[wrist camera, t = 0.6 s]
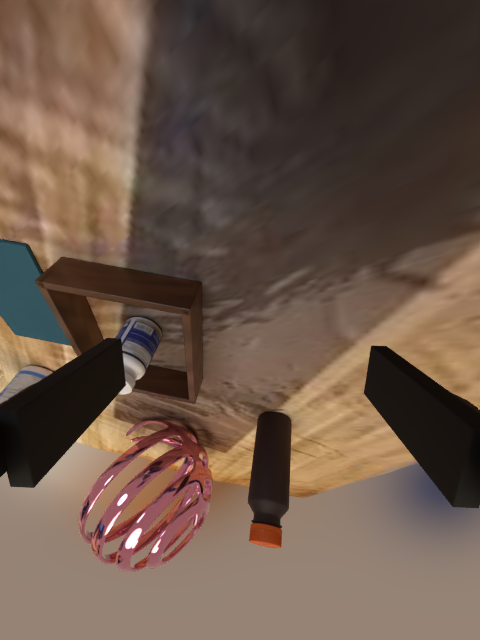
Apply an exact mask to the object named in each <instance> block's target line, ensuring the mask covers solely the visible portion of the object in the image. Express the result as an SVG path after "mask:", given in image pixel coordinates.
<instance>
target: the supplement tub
mask: <svg viewBox="0 0 480 640" xmlns="http://www.w3.org/2000/svg"><path fill="white" fill-rule="evenodd" d="M51 373H53V372H52V371H50V370H48V369H45V368H42V367H38V366H26V367H24V368H22V369H21V370H20V371H19V373H18V374H17V375H16V376H15V377H14V378H13V379H12V381H11V382H10V383H9V384H8V385H7V386H6V387H5V389H4V390H3V391H2V392H1V393H0V404H1V403H2V402H4V401H5V400H8V399H9V398H10V397H12V396H13V395H15V394H18V392H20V391H21V390H23V389H25V388H26V387H28V386H30V385H32V384H35V383H37V382H39V381H40V380H42V379H43V378H45V377H47V376H48V375H50V374H51Z"/></svg>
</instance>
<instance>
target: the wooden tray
mask: <svg viewBox="0 0 480 640" xmlns="http://www.w3.org/2000/svg"><path fill="white" fill-rule="evenodd" d="M35 283H36V285H37V286H38V288H39V290H40V292H41V293H42V295H43V297H44V299H45V300H46V302H47V304H48V306H49V307H50V309H51V311H52V313H53V314H54V316H55V318H56V320H57V321H58V323H59V325H60V327H61V328H62V330H63V332H64V334H65V335H66V337H67V339H68V341H69V342H70V344H71V346H72V348H73V349H74V351H75V353H76V355H77V356H80V355H81V354H83V353H84V352H86V351H88V350H89V349H91V348H92V347H94V346H95V345H97V344H99V343H100V342H102V341H103V340H104V339H103V337H102V335H101V332H100V330H99V328H98V325H97V323H96V321H95V318H94V316H93V313H92V311H91V309H90V306H89V304H88V302H87V299H86V297H85V296H87V297H93V298H98V299H103V300H108V301H114V302H119V303H124V304H130V305H135V306H140V307H146V308H151V309H156V310H161V311H167V312H172V313H177V314H182V322H183V333H184V345H185V357H186V368H187V373H186V372H181V371H176V370H171V369H166V368H161V367H156V366H151V365H149V366H148V368H147V370H146V372H145V374H144V375H143V376H142V377H141V378H140V379H138V380H135V385H134V387H133V389H132V391H134V392H139V393H144V394H149V395H154V396H159V397H163V398H168V399H173V400H178V401H183V402H188V403H193V404H195V403H196V399H197V396H198V393H199V390H200V386H201V383H202V380H203V346H202V282H196V281H191V280H185V279H180V278H174V277H169V276H163V275H158V274H152V273H147V272H141V271H136V270H130V269H125V268H119V267H114V266H108V265H103V264H97V263H92V262H86V261H81V260H75V259H70V258H65V257H61V258H60V259H59V260H58V261H57V262H55V263H54V264H53V265H52V266H51V267H50V268H48V269H47V270H46V271H45V272H44V273H43V274H41V275H40V276H39V277H38V278H37V279H36V280H35Z"/></svg>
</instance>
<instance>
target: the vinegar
mask: <svg viewBox="0 0 480 640" xmlns="http://www.w3.org/2000/svg"><path fill="white" fill-rule="evenodd" d="M290 454H291V420H290V419H289V418H288V417H287V416H285V415H283V414H281V413H276V412H266V413H263V414H261V415H260V416H259V418H258V423H257V431H256V439H255V447H254V455H253V463H252V471H251V479H250V487H249V495H248V503H249V505H250V507H251V509H252V511H253V512H254V519H253V520H252V524H251V528H250V538H249V541H250V542H252V543H254V544H257V545H261V546H265V547H271V548H281V537H282V530H281V529H280V528H282V526H281V525H280V519H281V517H282V516H283V515H284V514H285V513H286V512H287V511H288V509H289V485H290Z"/></svg>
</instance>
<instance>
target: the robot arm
mask: <svg viewBox="0 0 480 640" xmlns="http://www.w3.org/2000/svg"><path fill="white" fill-rule="evenodd" d="M125 386H126V380H125V371H124V361H123V351H122V341H121V339H120V338H106V339H105V340H103V341H102V342H100V343H99V344H97V345H95V346H94V347H92V348H91V349H89V350H88V351H86V352H84V353H83V354H81V355H80V356H78V357H76V358H75V359H73V360H72V361H70V362H69V363H67V364H65V365H64V366H62V367H61V368H59V369H58V370H56V371H54V372H53V373H51V374H50V375H48V376H47V377H45V378H43V379H42V380H40V381H39V382H37V383H35V384H32V385H30V386H28V387H26V388H25V389H23V390H21V391H20V392H18V394H15V395H13V396H12V397H10V398H9V399H8V400H5V401H4V402H2V403H1V404H0V477H1V476H2V475H3V474H4V473H5V472H6V471H7V474H8V478H9V482H10V486H11V487H30V488H34V487H35V486H36V485H37V484H38V482H39V481H40V480H41V479H42V478H43V477H44V476H45V475H46V474H47V473H48V471H49V470H50V469H51V468H52V467H53V466H54V465H55V464H56V462H57V461H58V460H59V459H60V458H61V457H62V456H63V455H64V454H65V453H66V451H67V450H68V449H69V448H70V447H71V446H72V444H74V443H75V441H76V440H77V439H78V438H79V437H80V436H81V435H82V434H83V433H84V431H85V430H86V429H87V428H88V427H89V426H90V425H91V424H92V423H93V421H94V420H95V419H96V418H97V417H98V416H99V415H100V414H101V413H102V411H103V410H104V409H105V408H106V407H107V406H108V405H109V404H110V403H111V401H112V400H113V399H114V398H115V397H116V396H117V395H118V394H119V393H120V391H121V390H122V389H123V388H124V387H125ZM364 394H365V395H366V397H367V398H368V399H369V400H370V402H371V403H372V404H373V406H374V407H375V408H376V409H377V411H378V412H379V413H380V415H381V416H382V417H383V418H384V420H385V421H386V422H387V423H388V425H389V426H390V427H391V429H392V430H393V431H394V432H395V434H396V435H397V436H398V438H399V439H400V440H401V441H402V443H403V444H404V445H405V446H406V448H407V449H408V450H409V452H410V453H411V454H412V455H413V457H414V458H415V459H416V460H417V462H418V463H419V464H420V466H421V467H422V468H423V469H424V471H425V472H426V473H427V475H428V476H429V477H430V478H431V480H432V481H433V482H434V483H435V485H436V486H437V487H438V489H439V490H440V491H441V492H442V494H443V495H444V496H445V498H446V499H447V500H448V501H449V503H450V504H451V505H452V506H453V507H466V508H479V505H480V410H478V408H477V407H476V406H474V405H473V404H471V403H470V402H469V401H467V400H465V399H463V398H461V397H459V396H457V395H455V394H453V393H450V392H449V391H448V390H446V389H445V388H444V387H442V386H441V385H439V384H438V383H437V382H435V381H434V380H432V379H431V378H430V377H428V376H427V375H426V374H424V373H423V372H421V371H420V370H419V369H417V368H416V367H414V366H413V365H412V364H410V363H409V362H407V361H406V360H405V359H403V358H402V357H401V356H399V355H398V354H396V353H395V352H394V351H392V350H391V349H389V348H388V347H387V346H371V351H370V358H369V364H368V371H367V377H366V384H365V390H364Z"/></svg>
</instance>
